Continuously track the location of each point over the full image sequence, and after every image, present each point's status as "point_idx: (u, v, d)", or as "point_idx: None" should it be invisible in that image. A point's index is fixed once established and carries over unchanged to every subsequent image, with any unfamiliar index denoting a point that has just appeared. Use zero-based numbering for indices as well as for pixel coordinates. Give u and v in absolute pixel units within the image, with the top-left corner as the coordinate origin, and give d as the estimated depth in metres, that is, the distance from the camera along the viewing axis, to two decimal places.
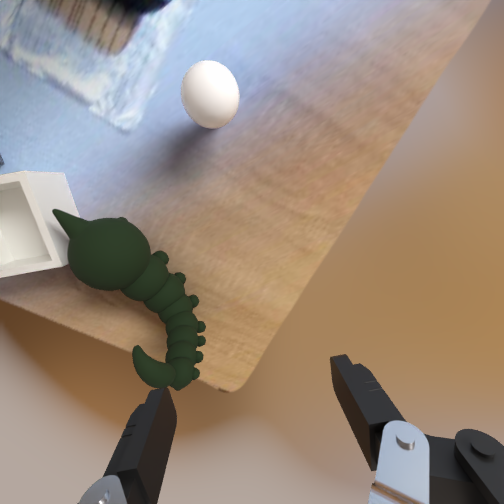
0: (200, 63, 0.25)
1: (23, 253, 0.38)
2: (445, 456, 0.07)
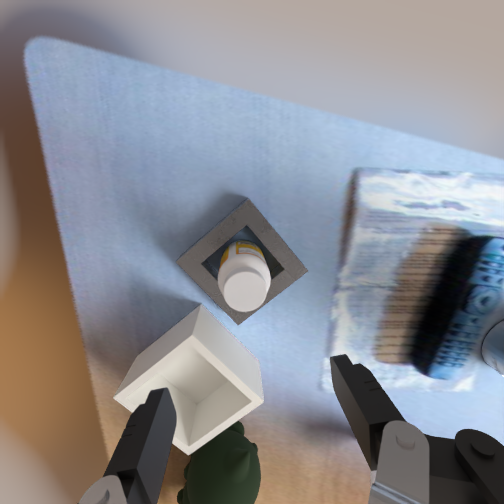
0: None
1: None
2: (445, 456, 0.07)
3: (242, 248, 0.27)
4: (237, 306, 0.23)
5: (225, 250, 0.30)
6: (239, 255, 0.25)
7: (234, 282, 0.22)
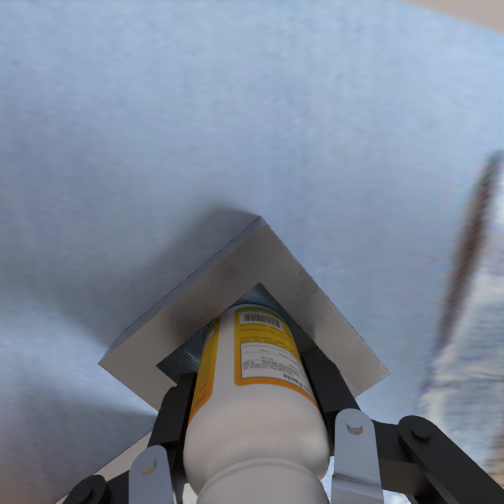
0: None
1: None
2: (389, 440, 0.08)
3: (250, 348, 0.11)
4: None
5: (211, 330, 0.14)
6: (245, 393, 0.09)
7: None
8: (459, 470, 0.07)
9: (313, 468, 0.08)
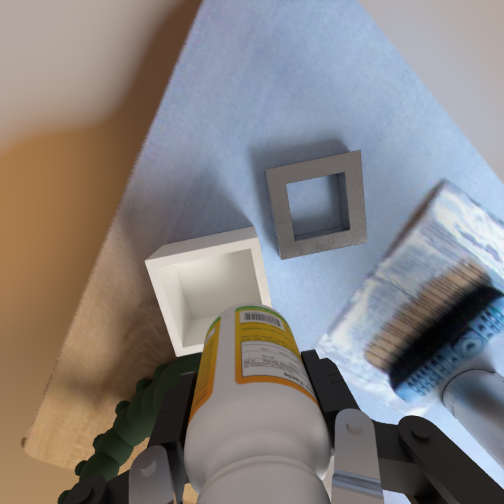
0: None
1: (181, 263, 0.32)
2: (389, 440, 0.08)
3: (251, 346, 0.11)
4: None
5: (212, 329, 0.14)
6: (245, 391, 0.08)
7: None
8: (459, 470, 0.07)
9: (314, 466, 0.08)
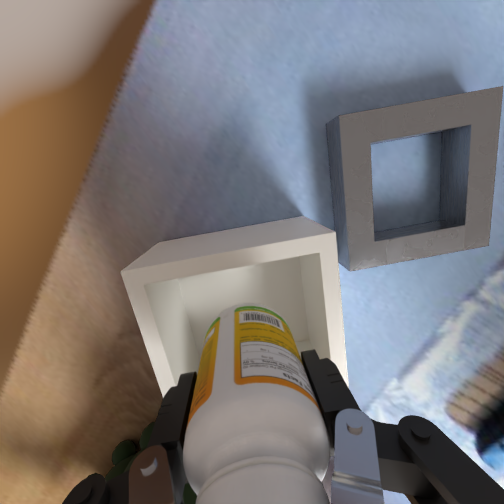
0: None
1: None
2: (389, 440, 0.08)
3: (250, 347, 0.11)
4: None
5: (211, 330, 0.14)
6: (244, 392, 0.08)
7: None
8: (459, 470, 0.07)
9: (313, 467, 0.08)
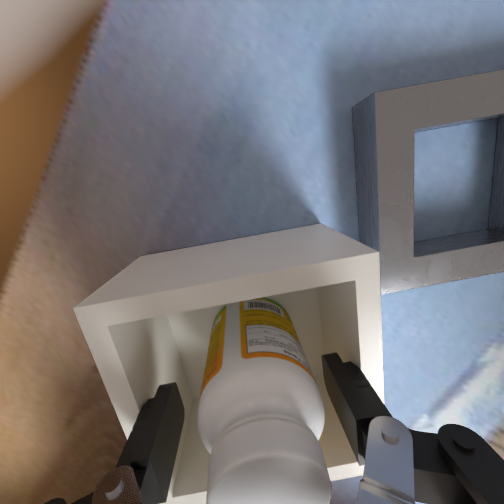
0: None
1: None
2: (428, 450, 0.08)
3: (254, 329, 0.12)
4: None
5: (218, 317, 0.15)
6: (250, 364, 0.10)
7: (239, 481, 0.07)
8: None
9: (309, 427, 0.10)
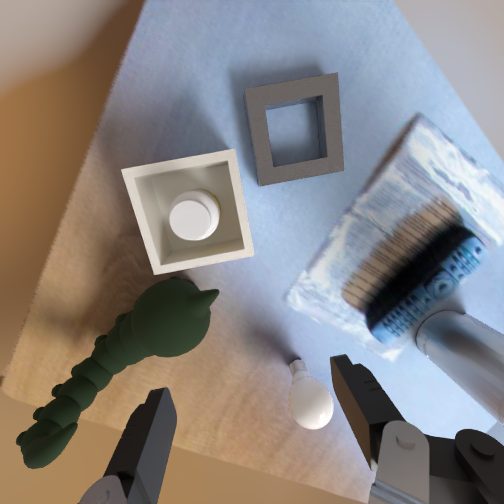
0: (331, 410, 0.34)
1: (161, 189, 0.33)
2: (445, 456, 0.07)
3: None
4: (183, 234, 0.25)
5: None
6: (188, 191, 0.26)
7: (179, 210, 0.24)
8: None
9: (209, 213, 0.26)
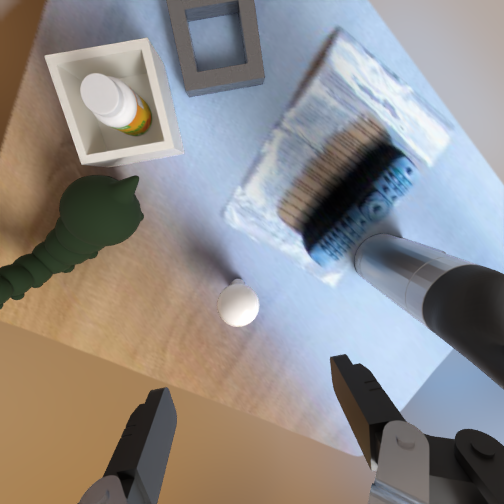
0: (254, 306, 0.36)
1: None
2: (445, 456, 0.07)
3: None
4: (94, 108, 0.27)
5: None
6: None
7: (88, 83, 0.27)
8: None
9: (123, 95, 0.29)
